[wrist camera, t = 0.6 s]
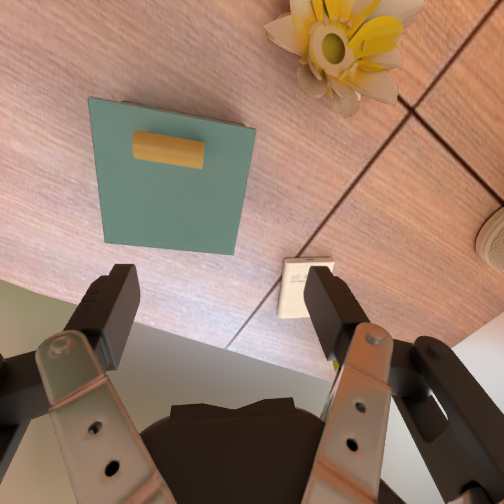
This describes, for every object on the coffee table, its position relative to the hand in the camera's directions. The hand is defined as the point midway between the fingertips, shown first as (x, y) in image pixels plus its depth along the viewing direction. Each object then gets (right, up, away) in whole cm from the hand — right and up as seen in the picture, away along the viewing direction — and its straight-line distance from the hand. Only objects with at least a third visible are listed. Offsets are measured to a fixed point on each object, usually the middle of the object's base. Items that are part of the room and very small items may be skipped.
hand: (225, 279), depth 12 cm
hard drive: (+10, -5, +35) cm, 36 cm away
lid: (-6, +8, +14) cm, 17 cm away
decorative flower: (+10, +24, +16) cm, 31 cm away
